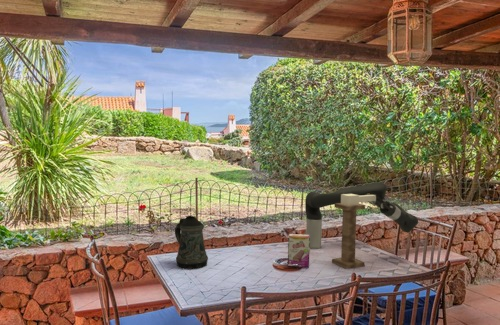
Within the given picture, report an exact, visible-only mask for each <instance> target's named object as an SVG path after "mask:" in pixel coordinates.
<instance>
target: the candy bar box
mask: <svg viewBox="0 0 500 325" xmlns="http://www.w3.org/2000/svg"><path fill="white" fill-rule="evenodd" d="M287 239H288V242H287V245H288V246H287V265H288V264H298V265H301V266H302V267H301V268H303V269H304V268H306V269H307V268H309V267H310V249H311V248H310V235H305V234H301V233H299V234H296V233H289V234H288V238H287Z"/></svg>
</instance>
